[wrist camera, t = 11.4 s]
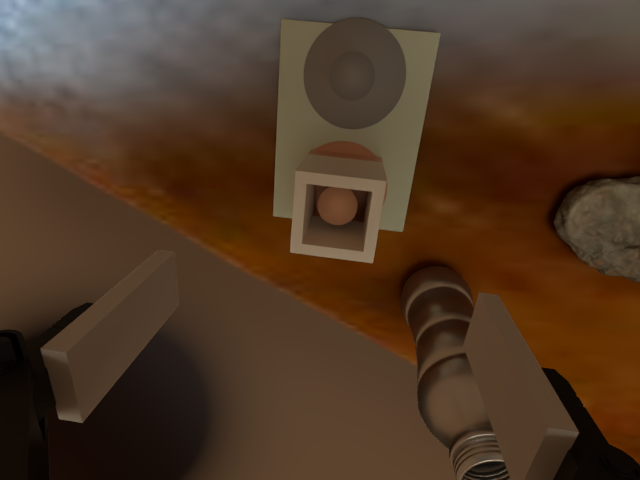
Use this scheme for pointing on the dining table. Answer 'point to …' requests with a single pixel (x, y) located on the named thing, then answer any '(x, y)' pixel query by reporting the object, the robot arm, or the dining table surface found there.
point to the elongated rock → (604, 225)
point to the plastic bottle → (450, 372)
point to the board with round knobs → (352, 108)
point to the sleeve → (338, 172)
